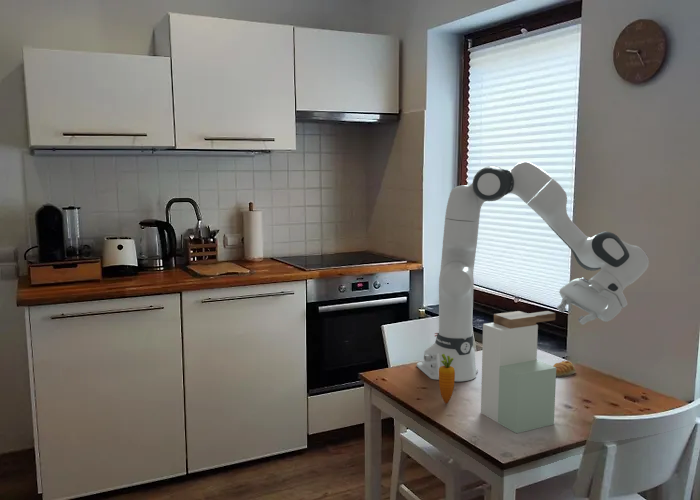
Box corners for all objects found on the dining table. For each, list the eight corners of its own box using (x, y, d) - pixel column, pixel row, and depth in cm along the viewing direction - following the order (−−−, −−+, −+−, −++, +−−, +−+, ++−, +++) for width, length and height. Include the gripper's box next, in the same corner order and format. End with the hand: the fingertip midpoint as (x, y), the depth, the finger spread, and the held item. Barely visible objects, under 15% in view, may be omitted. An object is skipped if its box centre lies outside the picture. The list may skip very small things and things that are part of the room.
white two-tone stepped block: (480, 412, 171) (483, 324, 168) (516, 405, 176) (519, 319, 173) (516, 433, 157) (519, 337, 154) (553, 424, 163) (557, 331, 160)
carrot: (457, 405, 176) (458, 356, 174) (442, 407, 175) (443, 358, 173) (450, 399, 181) (451, 351, 179) (434, 401, 179) (435, 353, 177)
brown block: (493, 322, 169) (493, 314, 168) (542, 316, 176) (543, 307, 176) (510, 328, 163) (510, 319, 162) (560, 321, 170) (560, 312, 170)
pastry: (562, 379, 199) (562, 368, 198) (544, 374, 204) (544, 363, 203) (577, 373, 205) (577, 362, 204) (559, 368, 210) (559, 358, 209)
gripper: (576, 269, 189) (543, 296, 188) (625, 291, 171) (589, 322, 169) (583, 283, 192) (551, 310, 191) (632, 307, 174) (596, 337, 172)
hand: (569, 316), depth 180 cm, fingers open, 8 cm apart
